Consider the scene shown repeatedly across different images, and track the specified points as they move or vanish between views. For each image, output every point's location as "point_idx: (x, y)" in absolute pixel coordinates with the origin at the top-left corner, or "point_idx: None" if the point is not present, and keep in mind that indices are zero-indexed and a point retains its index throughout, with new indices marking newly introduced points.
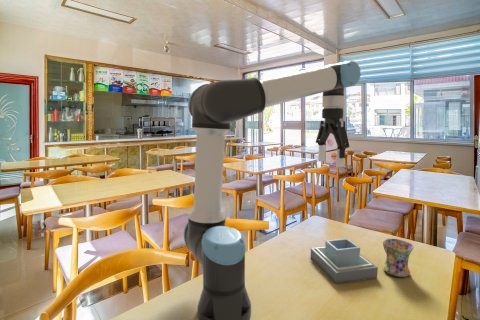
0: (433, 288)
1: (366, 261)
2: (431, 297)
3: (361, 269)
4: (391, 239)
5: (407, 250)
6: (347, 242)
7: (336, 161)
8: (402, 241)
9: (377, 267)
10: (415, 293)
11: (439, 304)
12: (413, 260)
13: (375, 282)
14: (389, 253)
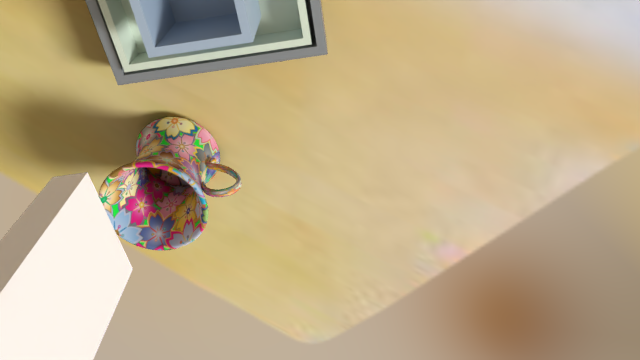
0: None
1: (150, 61)
2: (44, 168)
3: (90, 13)
4: (202, 209)
5: None
6: (234, 31)
7: (36, 233)
8: (189, 236)
9: (117, 83)
10: (56, 139)
11: (12, 168)
12: (261, 237)
13: (102, 50)
14: (143, 157)
